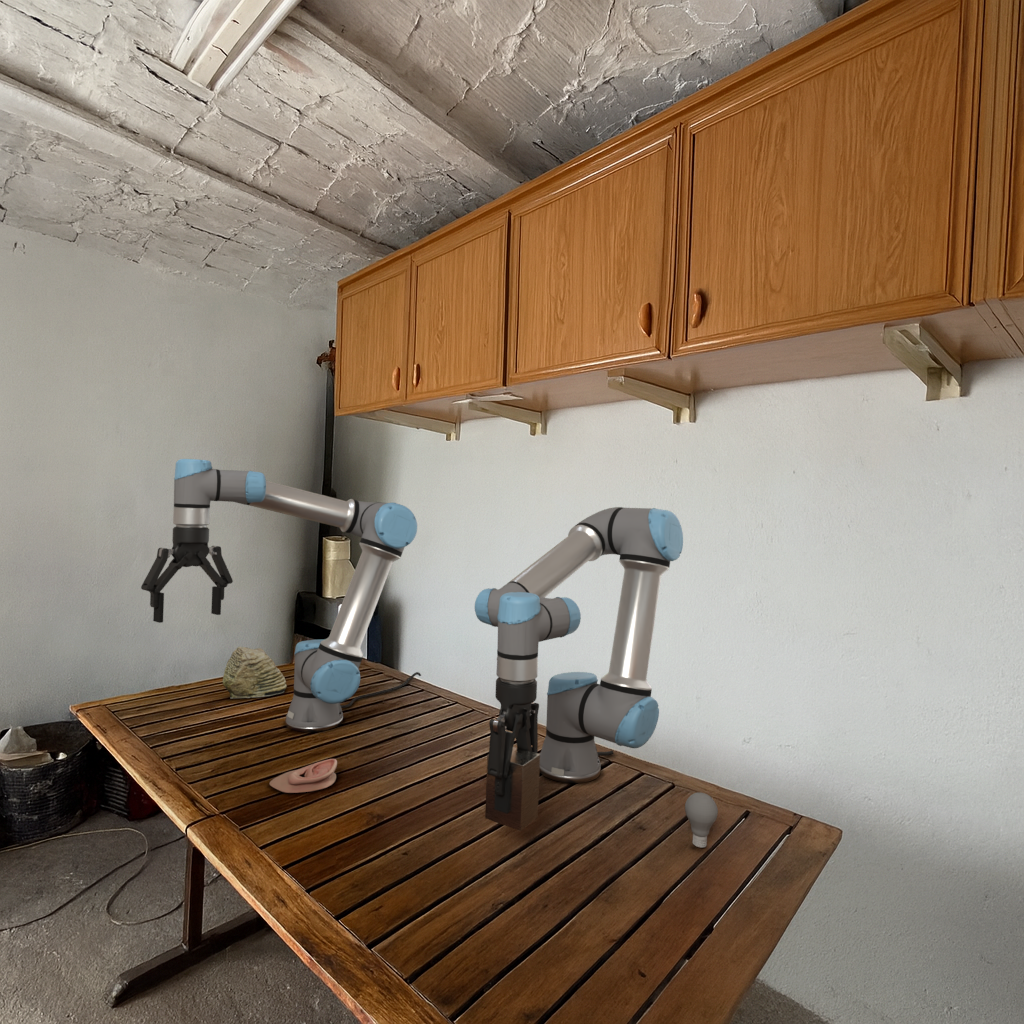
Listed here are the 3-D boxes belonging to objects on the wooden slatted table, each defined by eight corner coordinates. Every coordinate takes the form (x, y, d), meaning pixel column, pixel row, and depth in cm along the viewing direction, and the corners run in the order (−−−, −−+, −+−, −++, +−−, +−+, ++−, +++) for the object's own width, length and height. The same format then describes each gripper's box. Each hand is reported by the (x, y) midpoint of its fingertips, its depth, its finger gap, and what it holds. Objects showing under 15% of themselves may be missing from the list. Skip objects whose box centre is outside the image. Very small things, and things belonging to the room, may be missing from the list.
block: (503, 805, 121) (505, 744, 121) (537, 817, 117) (540, 754, 116) (484, 818, 116) (487, 754, 115) (520, 831, 112) (522, 765, 111)
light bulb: (678, 837, 123) (681, 786, 123) (708, 837, 124) (711, 787, 124) (689, 855, 117) (692, 801, 117) (721, 854, 118) (723, 801, 118)
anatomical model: (261, 770, 135) (291, 750, 147) (261, 789, 136) (290, 767, 147) (318, 779, 133) (344, 757, 144) (318, 797, 133) (343, 775, 144)
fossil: (218, 695, 195) (220, 647, 195) (278, 685, 208) (279, 640, 207) (228, 703, 189) (230, 653, 188) (289, 692, 201) (290, 645, 201)
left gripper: (231, 524, 159) (228, 609, 159) (125, 525, 138) (122, 622, 138) (249, 526, 154) (246, 613, 155) (143, 527, 134) (140, 627, 134)
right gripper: (525, 663, 126) (521, 778, 126) (469, 686, 109) (464, 818, 110) (559, 670, 122) (554, 789, 122) (505, 695, 105) (500, 832, 106)
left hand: (188, 617), depth 146 cm, fingers open, 13 cm apart
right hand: (512, 802), depth 116 cm, fingers closed on block, 6 cm apart
